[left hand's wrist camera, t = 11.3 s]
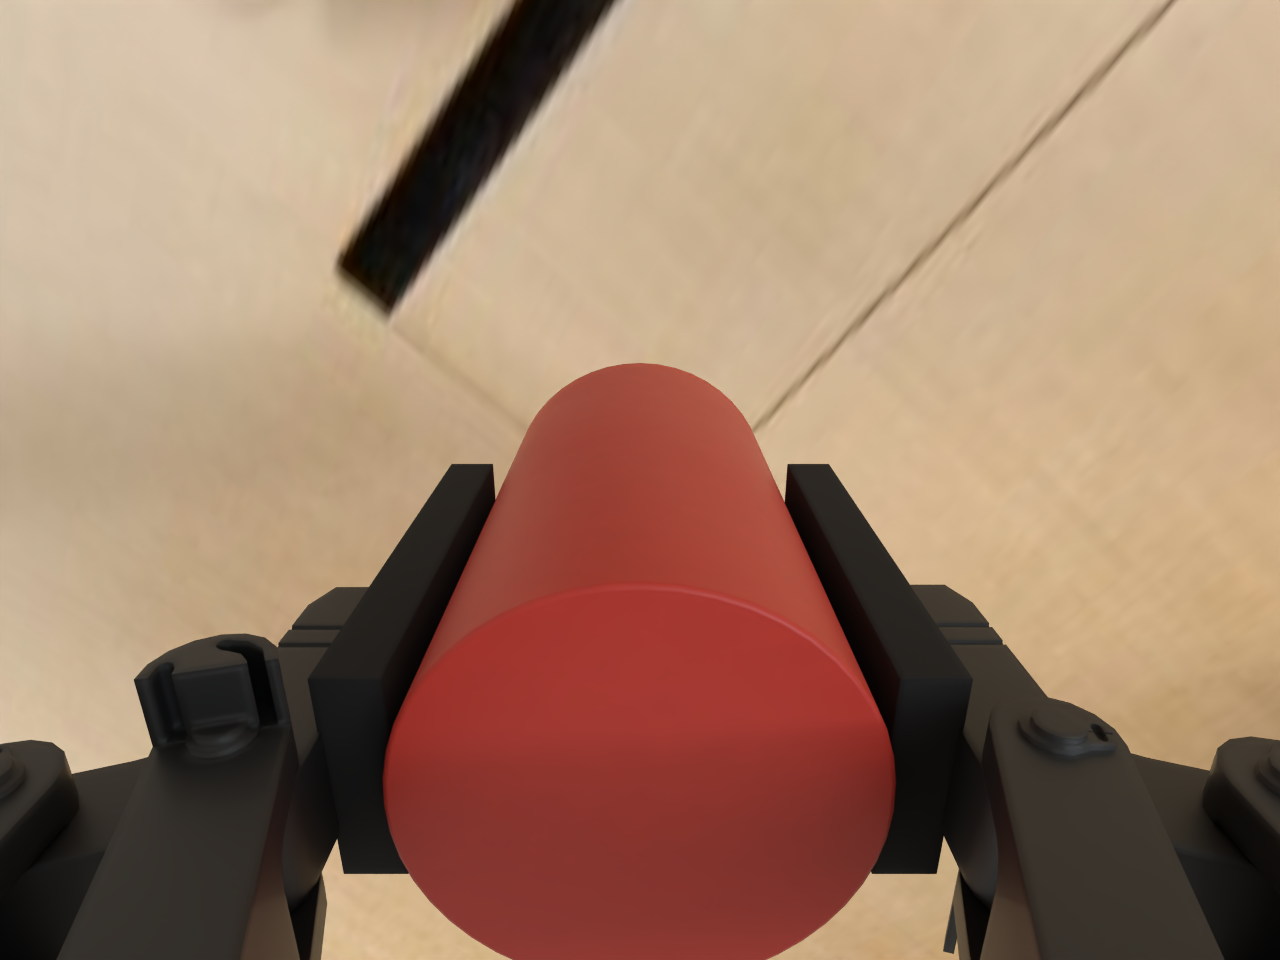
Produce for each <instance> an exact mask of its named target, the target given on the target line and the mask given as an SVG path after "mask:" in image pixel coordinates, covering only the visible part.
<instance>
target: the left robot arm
mask: <svg viewBox="0 0 1280 960" xmlns="http://www.w3.org/2000/svg"><path fill="white" fill-rule="evenodd" d="M494 503H495V487H494V474H493V464H452V465H451V466H450V468H449V469H448V471H447V472H446V473H445V475H444V476H443V478H442V479H441V481H440V482H439V484H438V485H437V487H436V488H435V490H434V491H433V493H432V494H431V496H430V497H429V499H428V500H427V502H426V503H425V505H424V506H423V508H422V509H421V511H420V512H419V514H418V515H417V517H416V518H415V520H414V521H413V523H412V524H411V526H410V527H409V529H408V530H407V531H406V533H405V534H404V536H403V537H402V539H401V540H400V542H399V543H398V545H397V546H396V548H395V549H394V551H393V552H392V554H391V555H390V557H389V558H388V560H387V561H386V563H385V564H384V566H383V567H382V569H381V570H380V572H379V573H378V575H377V576H376V578H375V579H374V581H373V582H372V584H371V585H370V587H336V588H334V589H333V590H331V591H330V592H328V593H327V594H325V595H323V596H322V597H320V598H319V599H317V600H316V601H314V602H312V603H311V604H309V605H308V606H307V608H306V609H305V610H304V611H303V613H302V614H301V615H300V616H299V618H298V619H297V620H296V622H295V623H294V624H293V625H292V630H288V632H287V633H286V634H285V635H284V637H283V638H282V639H281V641H280V642H279V646H278V647H276V646H275V645H274V644H272V643H271V642H270V641H269V640H267V639H266V638H264V637H259V636H255V635H250V634H226V635H218V636H213V637H209V638H205V639H200V640H196V641H193V642H190V643H188V644H185V645H183V646H180V647H178V648H175V649H173V650H170V651H168V652H166V653H165V654H163V655H162V656H160V657H159V658H157V659H155V660H154V661H152V662H151V663H149V664H148V665H147V666H146V667H145V668H144V669H143V670H142V671H141V672H140V673H139V675H138V676H137V677H136V678H135V679H134V682H135V686H136V689H137V693H138V696H139V700H140V703H141V707H142V710H143V714H144V717H145V721H146V724H147V728H148V731H149V735H150V738H151V742H152V745H153V748H152V750H151V752H150V754H149V757H147V758H143V759H139V760H136V761H132V762H127V763H122V764H117V765H113V766H108V767H103V768H98V769H94V770H89V771H84V772H79V773H74V774H72V773H71V770H70V767H69V765H68V762H67V759H66V756H65V753H64V751H63V750H61V749H60V748H59V747H57V746H56V745H55V744H53V743H51V742H43V741H35V740H27V741H20V742H12V743H5V744H0V960H321V953H322V944H323V935H324V926H325V917H326V908H327V899H326V893H325V886H324V881H323V876H322V870H323V868H324V866H325V863H326V861H327V859H328V857H329V855H330V853H331V851H332V848H333V846H334V844H335V842H336V840H337V839H338V845H339V850H340V855H341V861H342V866H343V871H344V874H409V872H408V870H407V869H406V867H405V865H404V864H403V862H402V860H401V858H400V856H399V854H398V851H397V849H396V846H395V844H394V841H393V839H392V836H391V834H390V830H389V825H388V821H387V816H386V812H385V808H384V795H383V769H384V760H385V751H386V747H387V744H388V740H389V737H390V734H391V730H392V727H393V724H394V721H395V719H396V717H397V715H398V713H399V710H400V708H401V706H402V704H403V702H404V699H405V697H406V695H407V693H408V691H409V689H410V686H411V684H412V682H413V680H414V678H415V675H416V673H417V671H418V669H419V667H420V664H421V662H422V660H423V658H424V656H425V654H426V651H427V649H428V647H429V645H430V643H431V640H432V638H433V636H434V634H435V632H436V629H437V627H438V625H439V623H440V621H441V619H442V616H443V614H444V612H445V610H446V608H447V605H448V603H449V601H450V599H451V597H452V594H453V592H454V590H455V588H456V586H457V583H458V581H459V579H460V577H461V575H462V573H463V570H464V568H465V566H466V564H467V562H468V559H469V557H470V555H471V553H472V551H473V548H474V546H475V544H476V542H477V540H478V538H479V535H480V533H481V531H482V529H483V527H484V524H485V522H486V520H487V518H488V516H489V513H490V511H491V509H492V507H493V505H494ZM785 505H786V507H787V509H788V511H789V513H790V516H791V518H792V520H793V522H794V524H795V527H796V529H797V531H798V533H799V535H800V538H801V540H802V542H803V544H804V546H805V549H806V551H807V553H808V555H809V557H810V560H811V562H812V564H813V566H814V568H815V571H816V573H817V575H818V577H819V579H820V582H821V584H822V586H823V588H824V590H825V593H826V595H827V597H828V599H829V601H830V604H831V606H832V608H833V610H834V612H835V615H836V617H837V619H838V621H839V623H840V626H841V628H842V630H843V632H844V634H845V637H846V639H847V641H848V643H849V645H850V648H851V650H852V652H853V654H854V656H855V659H856V661H857V663H858V665H859V667H860V670H861V672H862V674H863V676H864V678H865V681H866V683H867V685H868V687H869V689H870V692H871V694H872V696H873V698H874V700H875V703H876V705H877V707H878V709H879V712H880V714H881V716H882V718H883V721H884V723H885V725H886V728H887V730H888V734H889V738H890V742H891V746H892V750H893V754H894V762H895V774H896V791H895V802H894V812H893V816H892V820H891V824H890V828H889V832H888V836H887V839H886V841H885V843H884V846H883V848H882V850H881V853H880V855H879V857H878V860H877V862H876V863H875V865H874V867H873V868H872V870H871V872H872V874H937V869H938V863H939V858H940V853H941V847H942V842H943V837H945V839H946V841H947V843H948V846H949V848H950V850H951V852H952V854H953V856H954V858H955V861H956V863H957V865H958V867H959V871H958V876H957V881H956V886H955V891H954V896H953V901H952V906H951V911H950V916H949V921H948V926H947V931H946V936H945V943H944V949H943V951H944V952H948V953H952V954H954V950H955V945H956V940H957V942H958V951H959V959H960V960H1280V741H1279V740H1272V739H1265V738H1257V737H1244V738H1236V739H1229V740H1228V741H1227V742H1225V743H1224V744H1223V745H1221V746H1220V747H1219V748H1218V749H1217V752H1216V755H1215V758H1214V761H1213V764H1212V766H1211V769H1210V771H1208V770H1203V769H1198V768H1193V767H1189V766H1184V765H1179V764H1174V763H1169V762H1165V761H1160V760H1155V759H1150V758H1146V757H1142V756H1139V755H1135V754H1131V753H1130V751H1129V749H1128V746H1127V745H1126V743H1125V742H1124V741H1123V740H1122V738H1121V737H1120V736H1119V734H1118V733H1117V732H1116V730H1115V729H1114V728H1112V727H1111V726H1110V725H1108V724H1107V723H1106V722H1104V721H1103V720H1102V719H1100V718H1099V717H1097V716H1096V715H1095V714H1093V713H1090V712H1088V711H1086V710H1084V709H1082V708H1080V707H1077V706H1075V705H1073V704H1071V703H1068V702H1064V701H1060V700H1056V699H1052V698H1048V697H1047V696H1046V695H1045V693H1044V692H1043V691H1042V689H1041V688H1040V687H1039V686H1038V684H1037V683H1036V682H1035V681H1034V679H1033V678H1032V677H1031V676H1030V674H1029V673H1028V672H1027V671H1026V669H1025V668H1024V667H1023V666H1022V664H1021V663H1020V662H1019V660H1018V659H1017V658H1016V657H1015V655H1014V654H1013V653H1012V652H1011V650H1010V649H1009V648H1008V647H1007V645H1003V643H1002V639H1001V638H1000V637H999V635H998V634H997V633H996V632H995V630H994V629H993V628H992V627H989V623H988V621H987V620H986V619H985V618H984V616H983V615H982V614H981V613H980V611H979V610H978V609H977V608H976V606H975V605H974V604H973V603H972V602H971V601H969V600H968V599H966V598H965V597H963V596H961V595H960V594H958V593H957V592H955V591H954V590H952V589H950V588H949V587H947V586H946V585H910V584H909V583H908V581H907V580H906V578H905V577H904V575H903V574H902V572H901V571H900V569H899V568H898V566H897V565H896V563H895V562H894V560H893V559H892V558H891V556H890V555H889V553H888V552H887V550H886V549H885V547H884V546H883V544H882V543H881V541H880V540H879V538H878V537H877V535H876V534H875V532H874V531H873V529H872V528H871V526H870V525H869V523H868V522H867V520H866V519H865V517H864V516H863V514H862V513H861V511H860V510H859V508H858V507H857V505H856V504H855V502H854V501H853V500H852V498H851V497H850V495H849V494H848V492H847V491H846V489H845V488H844V486H843V485H842V483H841V482H840V480H839V479H838V477H837V476H836V474H835V473H834V471H833V470H832V468H831V467H830V465H829V464H788V467H787V480H786V494H785Z"/></svg>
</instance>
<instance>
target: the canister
mask: <svg viewBox="0 0 1280 960" xmlns="http://www.w3.org/2000/svg"><path fill="white" fill-rule="evenodd" d="M895 791H896V774H895V762H894V754H893V750H892V746H891V742H890V738H889V734H888V730H887V728H886V725H885V723H884V721H883V718H882V716H881V714H880V712H879V709H878V707H877V705H876V703H875V700H874V698H873V696H872V694H871V692H870V689H869V687H868V685H867V683H866V681H865V678H864V676H863V674H862V672H861V670H860V667H859V665H858V663H857V661H856V659H855V656H854V654H853V652H852V650H851V648H850V645H849V643H848V641H847V639H846V637H845V634H844V632H843V630H842V628H841V626H840V623H839V621H838V619H837V617H836V615H835V612H834V610H833V608H832V606H831V604H830V601H829V599H828V597H827V595H826V593H825V590H824V588H823V586H822V584H821V582H820V579H819V577H818V575H817V573H816V571H815V568H814V566H813V564H812V562H811V560H810V557H809V555H808V553H807V551H806V549H805V546H804V544H803V542H802V540H801V538H800V535H799V533H798V531H797V529H796V527H795V524H794V522H793V520H792V518H791V516H790V513H789V511H788V509H787V507H786V505H785V502H784V500H783V498H782V496H781V494H780V491H779V489H778V487H777V485H776V483H775V480H774V478H773V476H772V474H771V472H770V469H769V467H768V465H767V463H766V461H765V458H764V456H763V454H762V452H761V450H760V447H759V445H758V443H757V441H756V439H755V436H754V434H753V432H752V430H751V428H750V426H749V424H748V423H747V421H746V420H745V418H744V416H743V415H742V413H741V412H740V411H739V410H738V409H737V407H736V406H735V405H734V404H733V403H732V401H731V400H729V399H728V398H727V397H726V396H725V395H724V394H723V393H722V392H721V391H719V390H718V389H717V388H715V387H714V386H712V385H711V384H709V383H708V382H706V381H705V380H703V379H701V378H699V377H697V376H695V375H693V374H691V373H688V372H685V371H682V370H679V369H676V368H673V367H668V366H663V365H658V364H645V363H636V364H622V365H617V366H611V367H606V368H603V369H600V370H597V371H594V372H591V373H589V374H587V375H585V376H583V377H580V378H578V379H576V380H575V381H573V382H572V383H570V384H569V385H567V386H565V387H564V388H562V389H561V390H560V391H559V392H558V393H557V394H555V395H554V396H553V397H552V398H551V399H550V400H549V401H548V402H547V403H546V404H545V405H544V406H543V408H542V409H541V410H540V411H539V412H538V414H537V415H536V417H535V418H534V420H533V421H532V423H531V424H530V426H529V429H528V431H527V433H526V435H525V437H524V439H523V441H522V443H521V446H520V448H519V450H518V452H517V454H516V457H515V459H514V461H513V463H512V465H511V468H510V470H509V472H508V474H507V476H506V478H505V481H504V483H503V485H502V487H501V489H500V492H499V494H498V496H497V498H496V500H495V503H494V505H493V507H492V509H491V511H490V513H489V516H488V518H487V520H486V522H485V524H484V527H483V529H482V531H481V533H480V535H479V538H478V540H477V542H476V544H475V546H474V548H473V551H472V553H471V555H470V557H469V559H468V562H467V564H466V566H465V568H464V570H463V573H462V575H461V577H460V579H459V581H458V583H457V586H456V588H455V590H454V592H453V594H452V597H451V599H450V601H449V603H448V605H447V608H446V610H445V612H444V614H443V616H442V619H441V621H440V623H439V625H438V627H437V629H436V632H435V634H434V636H433V638H432V640H431V643H430V645H429V647H428V649H427V651H426V654H425V656H424V658H423V660H422V662H421V664H420V667H419V669H418V671H417V673H416V675H415V678H414V680H413V682H412V684H411V686H410V689H409V691H408V693H407V695H406V697H405V699H404V702H403V704H402V706H401V708H400V710H399V713H398V715H397V717H396V719H395V721H394V724H393V727H392V730H391V734H390V737H389V740H388V744H387V747H386V751H385V760H384V769H383V795H384V808H385V812H386V816H387V821H388V825H389V830H390V834H391V836H392V839H393V841H394V844H395V846H396V849H397V851H398V854H399V856H400V858H401V860H402V862H403V864H404V865H405V867H406V869H407V870H408V872H409V874H410V876H411V877H412V879H413V881H414V882H415V883H416V884H417V886H418V887H419V888H420V889H421V891H422V892H423V893H424V895H425V896H426V897H427V898H428V900H429V901H430V902H431V903H432V904H433V905H434V906H435V907H436V908H437V909H438V910H439V911H440V912H441V913H442V914H443V915H444V916H445V917H446V918H447V919H448V920H450V921H451V922H452V923H453V924H455V925H456V926H457V927H459V928H460V929H461V930H463V931H464V932H465V933H467V934H468V935H469V936H470V937H472V938H474V939H475V940H477V941H479V942H480V943H482V944H484V945H485V946H487V947H489V948H490V949H492V950H494V951H495V952H497V953H499V954H502V955H504V956H506V957H508V958H510V959H512V960H766V959H769V958H771V957H773V956H775V955H778V954H780V953H781V952H783V951H785V950H787V949H788V948H790V947H792V946H794V945H795V944H797V943H799V942H801V941H802V940H804V939H805V938H807V937H808V936H809V935H811V934H812V933H813V932H815V931H816V930H817V929H819V928H820V927H822V926H823V925H824V924H826V923H827V922H828V921H829V920H830V919H831V918H832V917H833V916H834V915H835V914H836V913H837V912H838V911H840V910H841V909H842V908H843V907H844V906H845V905H846V904H847V903H848V901H849V900H850V899H851V898H852V896H853V895H854V894H855V893H856V892H857V890H858V889H859V888H860V887H861V886H862V884H863V883H864V881H865V880H866V878H867V876H868V875H869V873H870V872H871V870H872V868H873V867H874V865H875V863H876V862H877V860H878V857H879V855H880V853H881V850H882V848H883V846H884V843H885V841H886V839H887V836H888V832H889V828H890V824H891V820H892V816H893V812H894V802H895Z"/></svg>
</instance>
